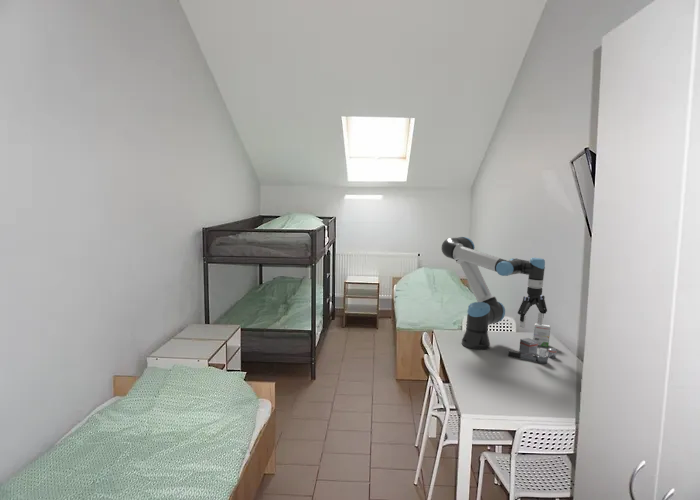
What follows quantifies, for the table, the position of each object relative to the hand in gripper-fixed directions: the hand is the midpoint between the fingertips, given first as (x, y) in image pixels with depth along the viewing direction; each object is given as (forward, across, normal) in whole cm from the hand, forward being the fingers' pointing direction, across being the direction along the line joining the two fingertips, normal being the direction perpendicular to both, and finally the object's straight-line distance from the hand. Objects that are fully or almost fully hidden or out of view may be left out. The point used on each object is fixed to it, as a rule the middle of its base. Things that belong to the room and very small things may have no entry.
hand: (531, 326), depth 277 cm
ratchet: (+15, -9, -7) cm, 19 cm away
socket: (+15, 0, 0) cm, 15 cm away
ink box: (+15, +19, +8) cm, 25 cm away
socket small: (+15, +7, -10) cm, 19 cm away
